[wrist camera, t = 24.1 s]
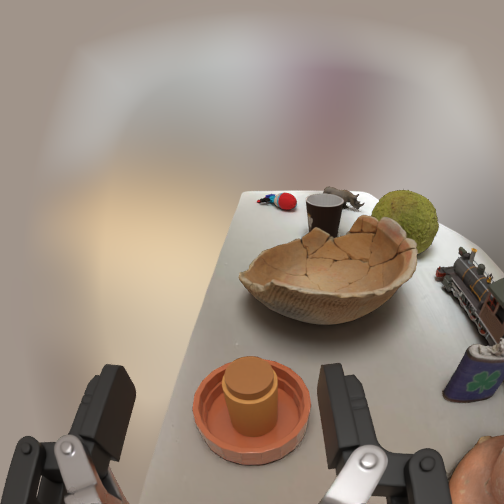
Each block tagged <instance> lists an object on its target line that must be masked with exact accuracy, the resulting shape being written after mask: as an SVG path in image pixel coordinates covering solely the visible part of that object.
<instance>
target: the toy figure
mask: <svg viewBox="0 0 504 504" xmlns="http://www.w3.org/2000/svg"><path fill="white" fill-rule="evenodd" d="M267 201H269V202H272V203H275V205H276V206H278V207H280V208H281V209H285V210H288V209H292V208H294V207H295V206H296V205H297V200H296V198H295V197H294V196H293V195H291V194H289V193H280V194H278V195H276V196H275V195H274V194H270V195H266V197H265V198H263V199H260V200H258V201H257V202H267Z"/></svg>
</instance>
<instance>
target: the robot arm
mask: <svg viewBox="0 0 504 504" xmlns="http://www.w3.org/2000/svg"><path fill="white" fill-rule="evenodd" d="M84 394H85V395H84V396H83V398H82V401H81V404H80V406H79V408H78V411H77V413H76V416H75V419H74V422H73V424H72V427H71V430H70V432H69V434H68V435H64V436H62V437H60V438H59V439H58V440H57V442H44V443H39V442H38V441H37V440H36V439H35V438H33V437H31V436H25V437H23V438H22V439H20V440H19V441H18V443H17V446H16V449H15V452H14V455H13V458H12V461H11V465H10V468H9V472H8V475H7V479H6V483H5V487H4V491H3V495H2V499H1V504H129V503H128V501H127V500H126V498H125V496H124V494H123V492H122V491H121V489H120V487H119V485H118V483H117V481H116V479H115V477H114V475H113V473H112V471H111V468H110V467H109V462H110V460H113V461H117V462H119V460H120V455H121V451H122V447H123V444H124V440H125V436H126V432H127V428H128V424H129V420H130V417H131V413H132V410H133V406H134V402H135V398H136V390H135V386H134V384H133V382H132V381H131V379H130V377H129V375H128V374H127V372H126V370H125V368H124V367H123V366H120V365H110V364H106V365H105V366H104V367H103V369H102V372H101V374H100V376H99V375H95V377H94V378H93V379H92V380H91V381H90V382H89V384H88V385H87V388H86V390H85V393H84ZM317 396H318V404H319V410H320V416H321V423H322V429H323V436H324V442H325V449H326V456H327V463H328V469H334V468H336V475H337V478H336V479H335V481H334V482H333V484H332V485H331V487H330V488H329V490H328V491H327V492H326V494H325V495H324V497H323V498H322V499H321V501H320V502H319V504H366V503H367V501H368V500H369V498H370V496H384V497H386V499H387V504H452V499H451V494H450V489H449V484H448V479H447V475H446V471H445V466H444V462H443V459H442V456H441V455H440V454H439V453H438V452H437V451H436V450H434V449H430V448H425V449H421V450H419V451H417V452H416V453H415V454H401V453H392V452H389V451H387V450H385V449H384V448H382V447H381V446H380V444H379V443H378V441H377V438H376V434H375V430H374V426H373V422H372V419H371V415H370V411H369V407H368V404H367V400H366V398H365V393H364V390H363V386H362V384H361V382H360V381H359V380H358V379H357V378H356V376H355V375H347V376H344V372H343V369H342V365H341V364H340V363H335V364H326V365H321V369H320V375H319V380H318V386H317ZM41 475H42V478H41V482H40V486H39V481H40V477H41ZM38 486H39V491H38V495H37V490H38ZM36 495H37V496H36Z"/></svg>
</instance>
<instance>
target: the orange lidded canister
mask: <svg viewBox="0 0 504 504" xmlns="http://www.w3.org/2000/svg"><path fill="white" fill-rule="evenodd" d="M222 388H223V392H224V396H225V400H226V404H227V408H228V412H229V416H230V420H231V423H232V426H233V427H234V429H235V430H236V431H237V432H239V433H240V434H242V435H244V436H248V437H259V436H263V435H265V434H267V433H269V432H270V431H271V430H272V429H273V428H274V427H275V425H276V423H277V417H278V379H277V375H276V373H275V371H274V370H273V369H272V367H271V365H270V364H269V363H268V362H267V361H265V360H264V359H261V358H259V357H253V356H247V357H242V358H239V359H236V360H234V361H233V362H232V363H230V364H229V365H228V367H227V368H226V371H225V374H224V376H223V379H222Z"/></svg>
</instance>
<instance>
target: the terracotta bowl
mask: <svg viewBox="0 0 504 504" xmlns="http://www.w3.org/2000/svg"><path fill="white" fill-rule="evenodd" d="M265 361H267V362H268V363H269V364H270V365H271V367H272V369H273V370H274V371H275V373H276V375H277V379H278V417H277V423H276V425H275V427H274V428H273V429H272V430H271V431H270V432H269V433H267V434H265V435H263V436H259V437H248V436H244V435H242V434H240V433H239V432H237V431H236V430H235V429H234V427H233V426H232V423H231V420H230V416H229V412H228V408H227V404H226V400H225V396H224V392H223V388H222V379H223V376H224V374H225V371H226V368H227V367H228V365H229V364H230V363H227V364H225V365H223V366H221V367H219V368H217V369H216V370H214V371H212V372H211V373H210V374H209V375H208V376H207V377H206V378H205V379H204V380H203V381H202V382H201V384H200V386H199V387H198V389H197V391H196V393H195V395H194V402H193V414H194V418H195V422H196V425H197V427H198V429H199V431H200V433H201V435H202V437H203V439H204V440H205V442H206V443H207V445H208V446H209V447H210V449H211V450H212V451H213V452H215V453H216V454H218V455H219V456H221V457H222V458H224V459H225V460H228V461H232V462H235V463H239V464H243V465H260V464H266V463H269V462H272V461H275V460H278V459H281V458H282V457H284V456H285V455H287V454H288V453H289V452H291V451H292V450H294V449H295V448H296V446H297V445H298V444H299V442H300V441H301V439H302V438H303V437H304V435H305V431H306V427H307V424H308V419H309V414H310V408H311V403H310V396H309V391H308V389H307V387H306V385H305V384H304V382H303V380H302V378H301V377H299V376H298V375H297V374H296V373H295V372H294V371H292V370H291V369H290V368H288V367H286V366H284V365H282V364H279V363H277V362H275V361H270V360H265ZM231 363H232V362H231Z"/></svg>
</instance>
